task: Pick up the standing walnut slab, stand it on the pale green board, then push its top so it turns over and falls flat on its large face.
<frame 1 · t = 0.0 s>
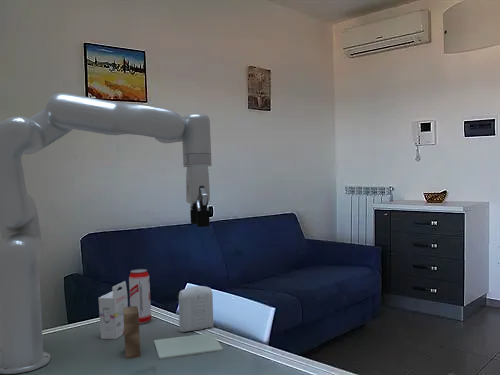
hand: (199, 225, 133), 31 cm above the table, tool pointing down, fingers open, 9 cm apart
slab: (132, 353, 126), on the table
red striped can: (141, 322, 154), on the table
photo printer: (196, 329, 145), on the table
ink cartridge box: (115, 335, 142), on the table
board: (187, 345, 130), on the table
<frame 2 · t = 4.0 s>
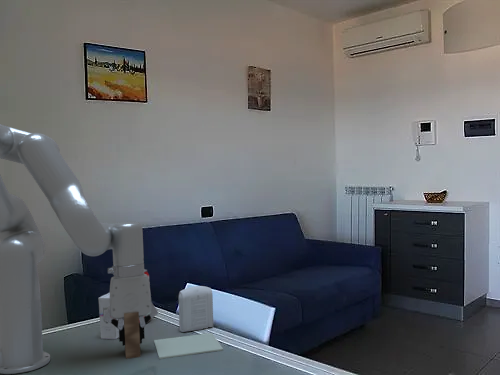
hand: (132, 342, 126), 3 cm above the table, tool pointing down, fingers closed on slab, 3 cm apart
slab: (132, 353, 126), on the table, touching gripper
everything else where it was.
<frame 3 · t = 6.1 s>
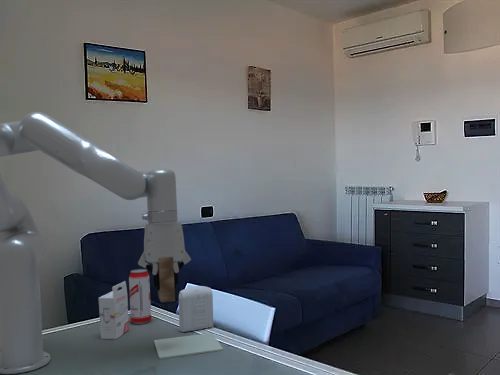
hand: (166, 287, 128), 16 cm above the table, tool pointing down, fingers closed on slab, 3 cm apart
slab: (166, 298, 128), point 13 cm above the table, touching gripper
everything else where it was.
when the fingers open (4 cm above the table, at t = 8.7 s): slab stays where it is, resting on board.
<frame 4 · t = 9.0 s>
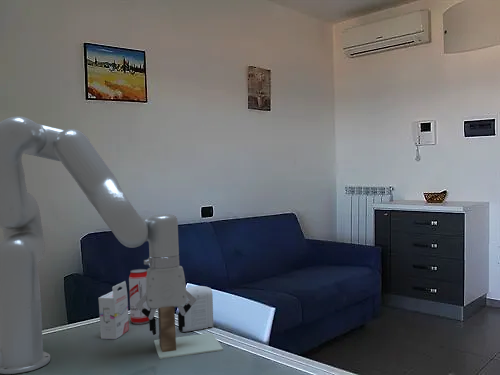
hand: (167, 331, 128), 5 cm above the table, tool pointing down, fingers open, 6 cm apart
slab: (167, 346, 128), resting on board
everything else where it was.
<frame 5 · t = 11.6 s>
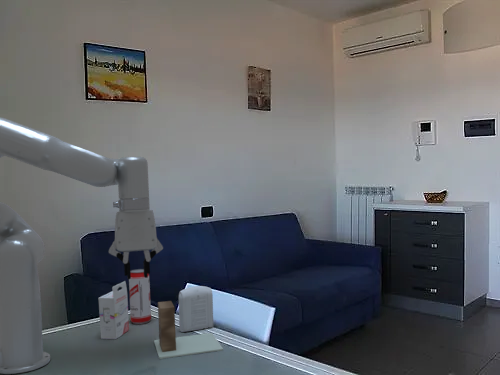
hand: (137, 276, 126), 19 cm above the table, tool pointing down, fingers open, 3 cm apart
nothing on the table moved.
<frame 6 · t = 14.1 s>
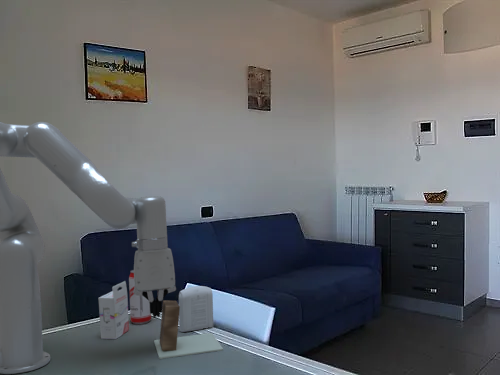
hand: (156, 315, 128), 9 cm above the table, tool pointing down, fingers closed
slab: (167, 346, 128), point 1 cm above the table, tilted 7°, touching board, gripper
everything else where it was.
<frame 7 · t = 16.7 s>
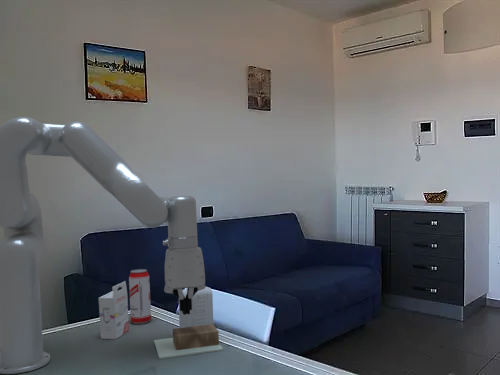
hand: (186, 313, 130), 9 cm above the table, tool pointing down, fingers closed
slab: (174, 339, 129), point 2 cm above the table, tilted 90°, touching board
everything else where it was.
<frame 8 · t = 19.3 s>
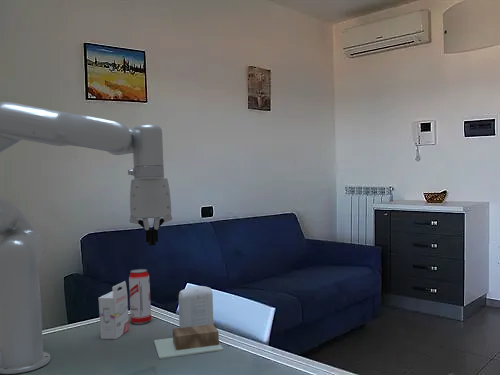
hand: (152, 244, 127), 27 cm above the table, tool pointing down, fingers closed
nothing on the table moved.
at the end: slab tilted 90°; slab inside the target area (6.3 cm from its centre), point 2.1 cm above the table; the gripper is holding nothing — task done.
